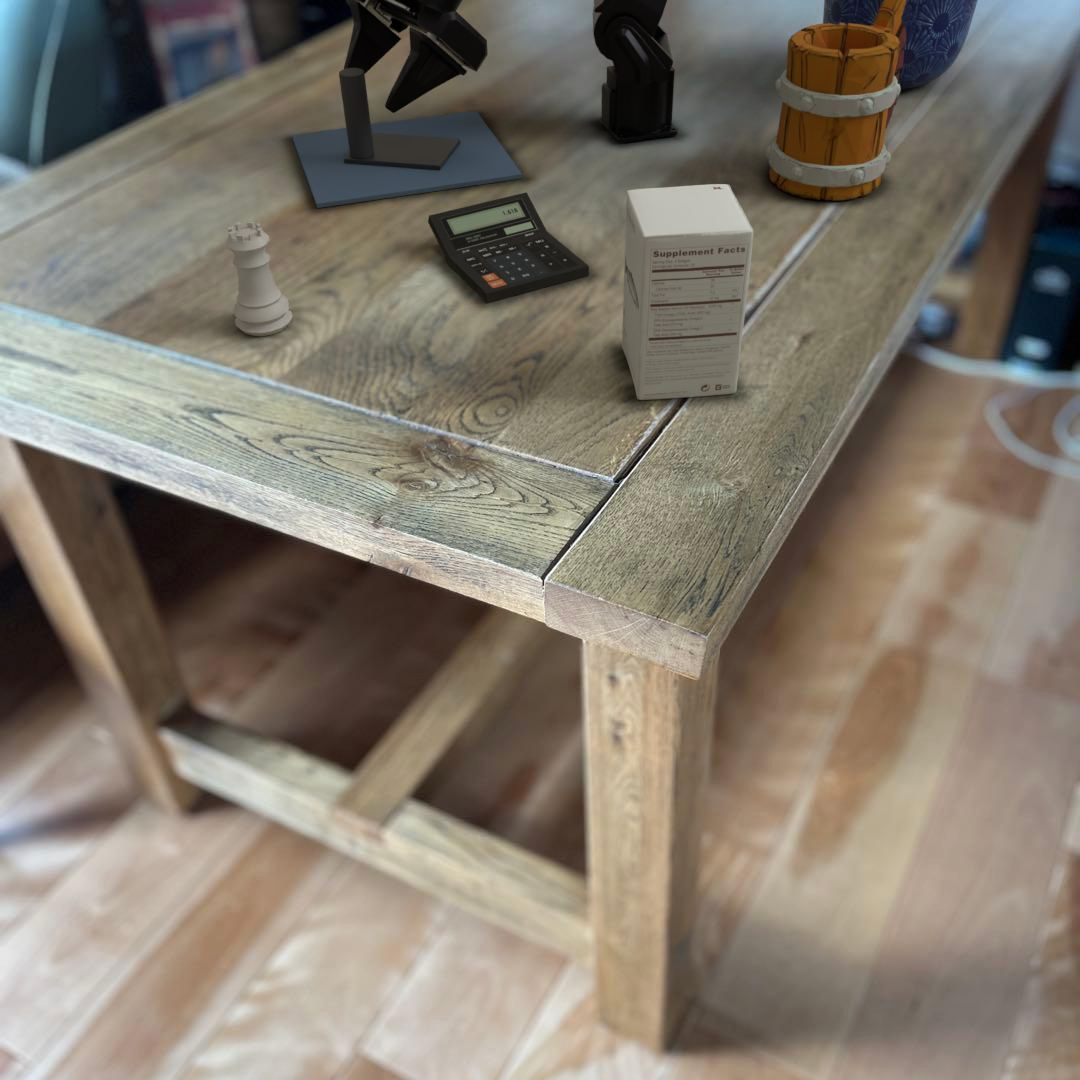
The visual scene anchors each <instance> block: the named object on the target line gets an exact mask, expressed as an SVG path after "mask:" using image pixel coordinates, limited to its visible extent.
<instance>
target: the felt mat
mask: <svg viewBox="0 0 1080 1080" xmlns="http://www.w3.org/2000/svg"><path fill="white" fill-rule="evenodd" d="M371 131H372V133H382V134H397V135H411V136H426V137H440V138H455V139H460V144H459V146H458V147H457V148H456V150H455V151H454V153H453V154H452V155H451V157H450V158H449V159H448V161H447V162H446V163H445V165H444V166H443V167H442V169H441V170H428V169H414V168H401V167H388V166H374V165H361V164H348V163H344V158H345V157H346V156H347V155H348V153H349V152H350V151H349V144H348V136H347V129H346V127H342V128H333V129H327V130H320V131H311V132H304V133H303V132H302V133H296V134H295V133H294V134H292V135H291V139H292V142H293V144H294V148H295V151H296V153H297V156H298V158H299V162H300V164H301V168H302V170H303V173H304V176H305V178H306V181H307V184H308V187H309V189H310V193H311V195H312V198H313V201H314V203H315V206H316V209H322V208H329V207H335V206H336V207H337V206H343V205H344V206H345V205H350V204H356V203H364V202H369V201H370V202H371V201H377V200H383V199H391V198H398V197H404V196H413V195H419V194H425V193H433V192H438V191H445V190H446V191H447V190H453V189H459V188H467V187H473V186H481V185H488V184H494V183H500V182H508V181H514V180H515V181H516V180H522V179H523V172H522V171H521V170H520V168H519V167H518V166H517V164H516V163H515V162H514V161H513V159H512V157H511V156H510V155H509V154H508V152H507V150H506V149H505V147H503V145H502V144H501V143H500V141H499V140H498V138H497V137H496V136H495V134H494V133H493V132H492V130H491V129H490V128H489V126H488V125H487V123H486V122H485V120H484V119H483V118H482V117H481V115H480V114H479V112H478V111H477V110H472V111H464V112H456V113H449V114H441V115H433V116H426V117H425V116H424V117H418V118H417V117H416V118H411V119H403V120H395V121H387V122H381V123H380V122H379V123H373V124H372V123H371Z"/></svg>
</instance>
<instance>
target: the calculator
mask: <svg viewBox="0 0 1080 1080" xmlns="http://www.w3.org/2000/svg"><path fill="white" fill-rule="evenodd" d="M427 223H428V225H429V227H430V229H431V231H432V233H433V235H434V237H435V239H436V241H437V243H438V246H439V247H440V249H441V251H442V253H443V255H444V257H445V259H446V261H447V263H448V266H449V267H450V268H451V269H452V270H453V271H454V272H455V273H456V274H457V275H459V277H460V278H461V279H462V280H463V281H464V282H465V283H466V284H467V285H469V287H470V288H471V289H473V291H474V292H476V294H477V295H478V296H479V297H480V298H481V299H482V300H483V301H484V302H485V303H486V304H489V303H493V302H497V301H501V300H503V299H504V300H505V299H507V298H511V297H515V296H519V295H522V294H526V293H529V292H534V291H537V290H540V289H544V288H548V287H552V286H555V285H559V284H562V283H566V282H569V281H573V280H577V279H580V278H585V277H589V275H590V266H589V265H588V264H587V263H586V262H585V261H584V260H582V258H580V257H579V256H578V255H576V254H575V253H574V252H572V250H570V249H569V248H568V247H566V246H565V244H563V243H562V242H560V240H558V239H557V238H556V237H554V236H553V235H552V234H551V233H550V232H548V230H547V228H546V227H545V224H544V222H543V221H542V218H541V217H540V215H539V213H538V211H537V210H536V208H535V205H534V203H533V202H532V200H531V198H530V196H529V194H528V191H527V192H522V193H517V194H514V195H509V196H505V197H501V198H496V199H493V200H488V201H484V202H480V203H477V204H476V203H475V204H471V205H468V206H467V205H466V206H464V207H460V208H459V207H458V208H455V209H451V210H447V211H442V212H439V213H435V214H429V215H428V219H427Z"/></svg>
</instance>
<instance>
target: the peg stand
mask: <svg viewBox="0 0 1080 1080" xmlns="http://www.w3.org/2000/svg"><path fill="white" fill-rule="evenodd" d="M338 78H339V85H340V93H341V99H342V100H341V101H342V107H343V115H344V121H345V128H346V129H347V136H348V144H349V151H350V152H349V153H348V155H347V156H346V157H345V158H344V163H348V164H361V165H374V166H388V167H401V168H414V169H428V170H441V169H442V167H443V166H444V165H445V163H446V162H447V161H448V159H449V158H450V157H451V155H452V154H453V153H454V151H455V150H456V148H457V147H458V146H459V144H460V139H455V138H440V137H426V136H411V135H397V134H382V133H372V131H371V124H372V123H371V115H370V106H369V100H368V91H367V83H366V73H365V74H364V70H363V69H360V68H347V69H344V68H343V69H341V70H340V71H338Z"/></svg>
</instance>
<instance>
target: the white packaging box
mask: <svg viewBox="0 0 1080 1080" xmlns="http://www.w3.org/2000/svg"><path fill="white" fill-rule="evenodd" d="M625 206H626V207H625V242H624V270H623V298H622V299H623V301H622V302H623V303H622V304H623V305H622V329H621V331H622V337H621V348H622V351H623V353H624V356H625V358H626V361H627V364H628V367H629V371H630V375H631V379H632V382H633V386H634V390H635V395H636V400H638V401H639V400H640V401H646V400H647V401H650V400H652V401H653V400H667V399H682V398H697V397H711V396H722V395H733V394H736V393H737V387H738V380H739V371H740V359H741V350H742V343H743V342H742V341H743V333H744V325H745V318H746V317H745V316H746V306H747V299H748V291H749V281H750V273H751V264H752V256H753V255H752V254H753V245H754V244H753V243H754V234H755V233H754V228H753V227H752V225H751V223H750V221H749V219H748V217H747V216H746V213H745V212H744V210H743V208H742V206H741V204H740V203H739V201H738V199H737V197H736V196H735V193H734V191H733V190H732V188H731V185H730V184H728V183H727V184H726V183H725V184H724V183H718V184H717V183H714V184H713V183H710V184H708V183H707V184H695V185H694V184H693V185H680V186H666V187H651V188H649V187H647V188H635V189H628V190H626V205H625Z"/></svg>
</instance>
